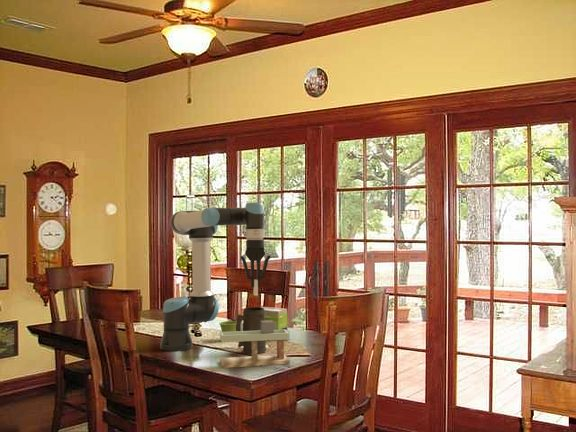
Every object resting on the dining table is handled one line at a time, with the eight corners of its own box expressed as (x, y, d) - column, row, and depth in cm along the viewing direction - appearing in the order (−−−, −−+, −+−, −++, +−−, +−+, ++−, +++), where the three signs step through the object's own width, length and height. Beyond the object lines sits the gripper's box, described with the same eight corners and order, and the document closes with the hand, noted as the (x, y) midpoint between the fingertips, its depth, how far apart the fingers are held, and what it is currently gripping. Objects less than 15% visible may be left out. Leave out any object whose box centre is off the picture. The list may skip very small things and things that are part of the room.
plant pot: (235, 342, 302) (235, 324, 302) (217, 341, 304) (216, 324, 304) (240, 338, 312) (240, 321, 312) (222, 337, 313) (222, 320, 313)
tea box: (252, 338, 312) (252, 308, 312) (262, 334, 321) (262, 306, 321) (278, 340, 305) (278, 310, 305) (287, 336, 314) (287, 307, 314)
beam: (221, 342, 252) (221, 335, 252) (220, 338, 260) (220, 332, 260) (288, 339, 258) (288, 332, 258) (285, 335, 266) (285, 329, 266)
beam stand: (222, 367, 251) (222, 344, 251) (220, 361, 262) (219, 339, 262) (289, 363, 256) (289, 340, 256) (285, 357, 267) (284, 335, 267)
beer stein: (254, 347, 289) (252, 305, 288) (272, 350, 282) (269, 307, 281) (231, 355, 277) (229, 311, 276) (249, 359, 270) (246, 313, 269)
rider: (262, 337, 257) (262, 322, 257) (260, 334, 262) (260, 320, 262) (274, 336, 258) (273, 322, 258) (272, 334, 263) (271, 320, 263)
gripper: (240, 239, 254) (241, 296, 254) (271, 239, 257) (272, 295, 257) (238, 239, 262) (239, 294, 262) (268, 238, 264) (269, 293, 264)
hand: (255, 295), depth 259 cm, fingers closed
